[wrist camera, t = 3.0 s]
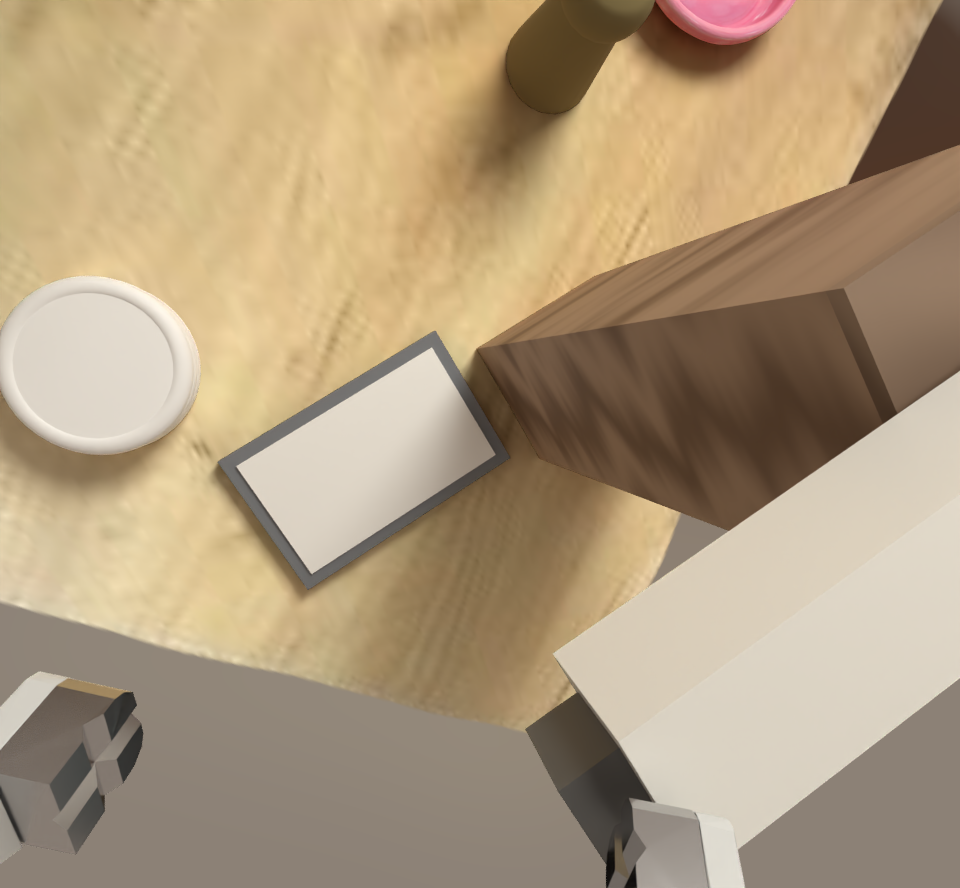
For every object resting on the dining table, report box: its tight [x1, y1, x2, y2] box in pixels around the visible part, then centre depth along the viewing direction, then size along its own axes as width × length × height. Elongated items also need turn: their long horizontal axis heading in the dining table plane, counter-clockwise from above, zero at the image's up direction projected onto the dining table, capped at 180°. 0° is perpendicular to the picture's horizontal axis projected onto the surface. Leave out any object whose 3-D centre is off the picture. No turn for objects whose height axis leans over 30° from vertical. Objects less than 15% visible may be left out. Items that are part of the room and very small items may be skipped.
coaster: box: [0, 276, 201, 455], centre depth 37 cm, size 10×10×4 cm
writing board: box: [218, 331, 510, 590], centre depth 43 cm, size 10×16×1 cm, turn 120°
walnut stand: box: [477, 145, 960, 531], centre depth 30 cm, size 9×10×32 cm
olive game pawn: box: [506, 0, 655, 114], centre depth 38 cm, size 6×6×11 cm
